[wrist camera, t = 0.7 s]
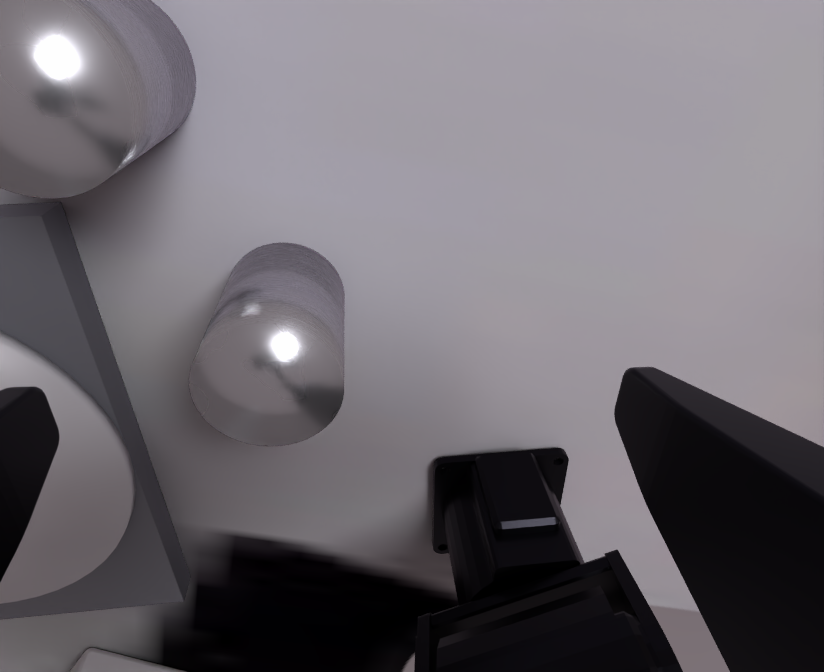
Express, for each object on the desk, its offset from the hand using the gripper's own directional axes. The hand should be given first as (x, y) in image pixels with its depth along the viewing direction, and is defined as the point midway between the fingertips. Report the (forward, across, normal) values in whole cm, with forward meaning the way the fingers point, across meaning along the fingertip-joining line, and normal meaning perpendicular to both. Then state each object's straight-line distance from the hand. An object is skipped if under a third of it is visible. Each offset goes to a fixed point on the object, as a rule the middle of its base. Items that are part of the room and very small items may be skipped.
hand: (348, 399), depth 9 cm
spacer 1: (+12, +7, -4) cm, 15 cm away
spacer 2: (+12, +3, +4) cm, 13 cm away
